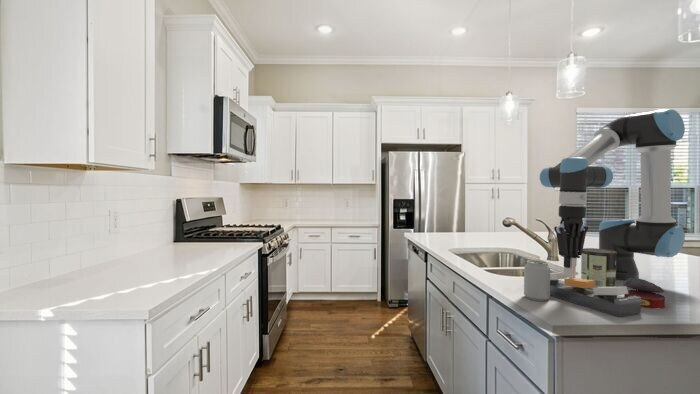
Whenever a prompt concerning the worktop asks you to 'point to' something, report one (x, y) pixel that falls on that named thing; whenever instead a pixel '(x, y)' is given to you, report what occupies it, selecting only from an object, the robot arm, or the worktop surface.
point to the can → (537, 280)
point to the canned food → (645, 292)
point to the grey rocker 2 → (610, 290)
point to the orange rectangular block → (579, 283)
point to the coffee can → (599, 266)
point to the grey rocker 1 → (557, 276)
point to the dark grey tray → (596, 299)
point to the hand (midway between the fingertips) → (569, 277)
